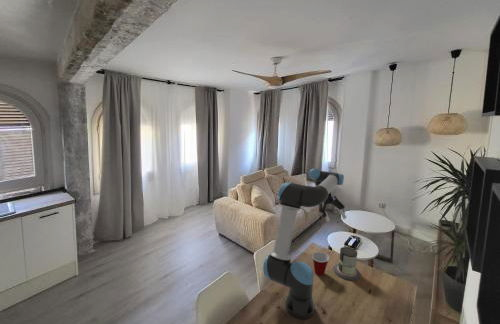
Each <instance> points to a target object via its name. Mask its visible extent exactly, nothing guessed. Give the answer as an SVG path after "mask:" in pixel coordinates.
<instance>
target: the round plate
mask: <svg viewBox="0 0 500 324" xmlns="http://www.w3.org/2000/svg"><path fill="white" fill-rule="evenodd" d="M338 267H339V263H336V264H335V265H334V266H333V271H334V274H336V275H337V276H338V277H340V278H342V279H344V280H347V281H357V280H359V278H360V277H361V273H360V271H359V269H358V268H357V267H356V268H355V274H354V275H352V276H348V275H344V274H342V273H341V272H340V271H339V270H338Z"/></svg>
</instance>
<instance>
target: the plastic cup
mask: <svg viewBox="0 0 500 324" xmlns="http://www.w3.org/2000/svg"><path fill="white" fill-rule="evenodd" d="M311 258H312V260H313V267H314V268H313V271H314V274H315V275H317V276H324V274H325V273H326V269H327V265H328V262H329V260H330V256H329V254H327V253H325V252H321V251H316V252H313V253H312V254H311Z"/></svg>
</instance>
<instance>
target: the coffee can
mask: <svg viewBox="0 0 500 324" xmlns="http://www.w3.org/2000/svg"><path fill="white" fill-rule="evenodd" d="M339 251H340V252H339V260H338V261H339V262H338V264H339V267H338V270H339V271H340V272H341V273H342V274H344V275H348V276H352V275H354V274H355V268H356V269H357V267H356V266H357V258H358V251H357V250H356V249H354V248H352V247H347V246H343V247H340V250H339Z"/></svg>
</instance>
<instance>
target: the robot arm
mask: <svg viewBox="0 0 500 324" xmlns="http://www.w3.org/2000/svg"><path fill="white" fill-rule="evenodd" d="M308 175H309V178H310V179H311V181H313V183H314V186H309V185H305V184H299V183H295V182H284V183H282V184H281V186H280V187H279V189H278V193H277V200H278V202H279V205H280V208H281V211H280V215H279V221H278V227H277V230H276V231H277V232H276V237H275V240H274V241H275V242H274V246H273V250H272V251H271V252H270V253H269V255H267V256H266V257H265V258H264V261H263V266H262V267H263V269H262V270H263V274H264V277H266V278H267V279H269V280H271V281H272V282H276V283H278V284H280V285H282V286H285V287H287V288H289V291H288V294H287V296H286V298H285V301H284V307H285V310H286V312H287V313H288V314H289V315H290V316H291V317H294V318H296V319H298V320H307V319H310V318H312V317H313V315H314V314H315V303H314V302H315V301H314V299H313V288H314V280H315V279H314V278H315V277H314V274H315V273H314V269H312V268H311V266H310V265H309V264H307V263H306V262H303V261H293V262H291V259H292V258H291V256H290V249H291V244H292V238H293V234H294V229H295V224H296V217H297V214H298V211H300V210H301V209H302V208H303V207H304V208H312V207H317V206H318V212H319V213H320V214H322V215H323V217H324V218H325V220H326V223H329V222H330V221H331V219H330V215H329V214H328V212H327V211H326V210H327V209H326V207H327V205H333V206H334V207H336V208H337V209H338V210H339V213H340V215H341V218H342V219H343V220H345V219H347V216H346V213H345V210H344V209H345V208H346V207H345V204H343V203H342V202H341V201H340V200H339V199H338V197H336V196H332V193H331V192H332V191H333V190H334V188H335V187H336V186H342V185H343V184H344V181H345V177H344V174H343V173H339V172H331V171H324V170H319V169H318V168H312V169H310V170H309V171H308Z"/></svg>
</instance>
